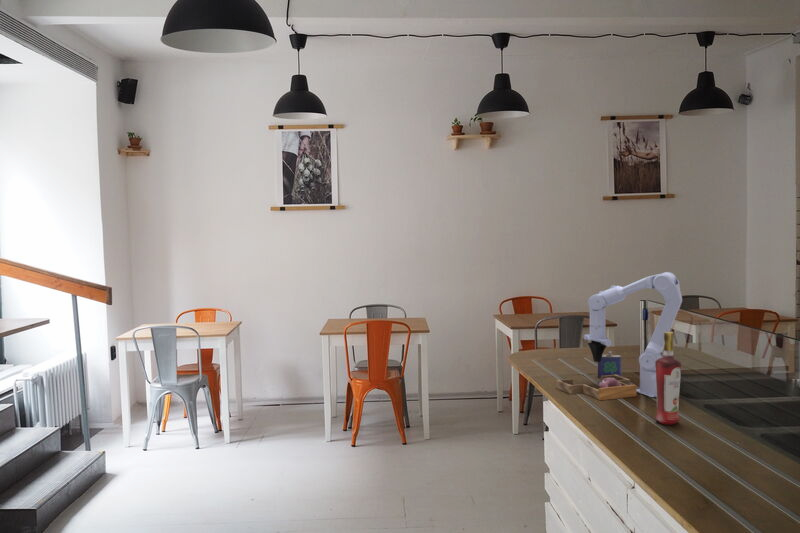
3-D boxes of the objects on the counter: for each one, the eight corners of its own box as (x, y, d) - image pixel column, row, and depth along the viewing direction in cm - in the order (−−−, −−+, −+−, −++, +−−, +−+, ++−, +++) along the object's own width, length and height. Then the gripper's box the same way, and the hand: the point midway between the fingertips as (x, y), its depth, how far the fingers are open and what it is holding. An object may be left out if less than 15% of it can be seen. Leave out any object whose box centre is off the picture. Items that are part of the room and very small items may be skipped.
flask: (620, 377, 252) (620, 350, 251) (622, 378, 249) (622, 352, 248) (596, 377, 252) (597, 350, 251) (598, 379, 249) (599, 352, 248)
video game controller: (616, 395, 231) (608, 377, 233) (626, 391, 228) (618, 373, 230) (602, 400, 224) (594, 382, 226) (613, 397, 221) (605, 378, 223)
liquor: (667, 417, 198) (668, 330, 197) (685, 424, 192) (687, 333, 190) (649, 420, 196) (650, 331, 194) (667, 427, 189) (668, 335, 187)
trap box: (649, 394, 225) (649, 383, 225) (586, 401, 217) (586, 390, 217) (615, 382, 244) (615, 371, 243) (556, 388, 236) (556, 377, 236)
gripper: (577, 323, 243) (577, 358, 243) (599, 329, 229) (599, 366, 230) (593, 322, 245) (592, 357, 246) (616, 328, 231) (616, 364, 232)
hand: (597, 361), depth 238 cm, fingers closed
